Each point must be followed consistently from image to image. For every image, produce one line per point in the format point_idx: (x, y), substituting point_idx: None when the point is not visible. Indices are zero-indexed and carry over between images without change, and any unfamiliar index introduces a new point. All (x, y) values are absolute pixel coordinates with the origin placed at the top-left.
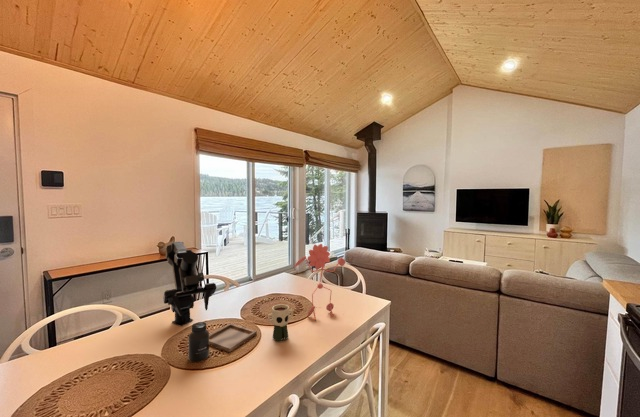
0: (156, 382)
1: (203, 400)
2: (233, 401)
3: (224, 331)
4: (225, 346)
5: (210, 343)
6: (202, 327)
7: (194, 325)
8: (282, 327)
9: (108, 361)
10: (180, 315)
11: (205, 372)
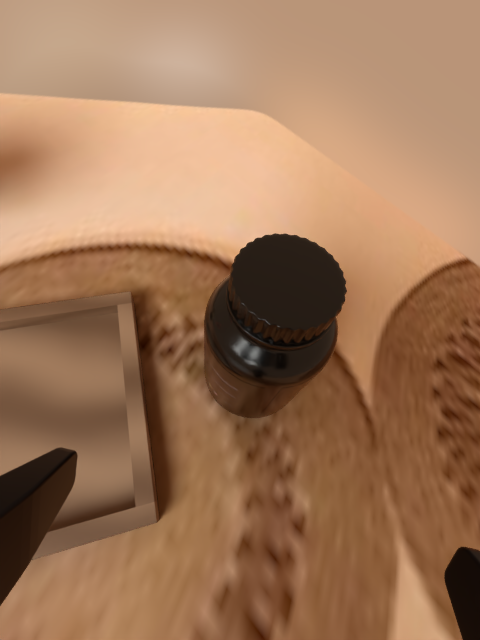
0: (425, 337)
1: (323, 184)
2: (270, 141)
3: None
4: (129, 322)
5: (148, 435)
6: (279, 238)
7: (324, 293)
8: None
9: None
10: (466, 555)
11: None
